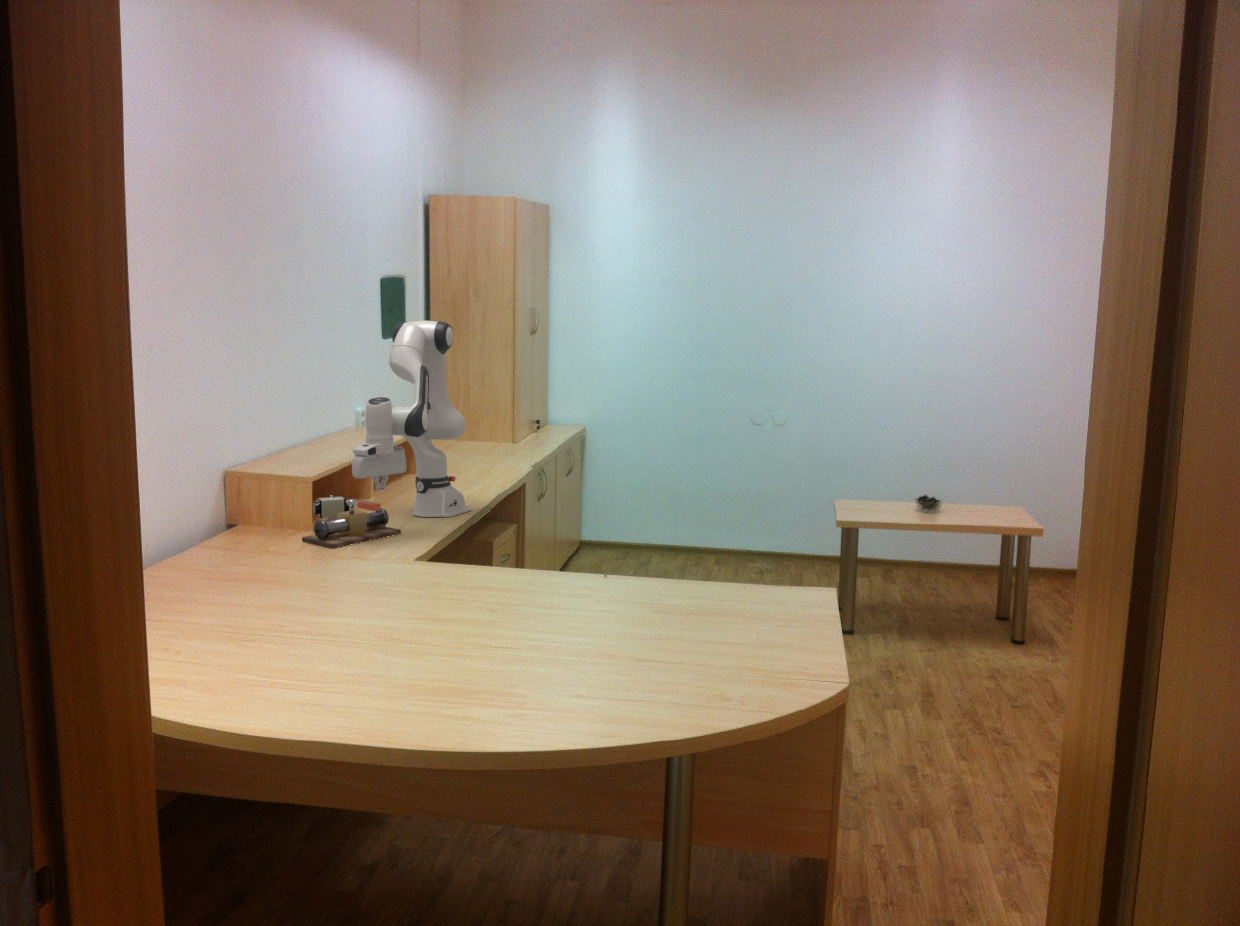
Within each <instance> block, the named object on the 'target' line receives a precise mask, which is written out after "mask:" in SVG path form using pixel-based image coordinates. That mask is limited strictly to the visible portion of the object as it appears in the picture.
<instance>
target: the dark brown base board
mask: <svg viewBox="0 0 1240 926" xmlns="http://www.w3.org/2000/svg"><path fill="white" fill-rule="evenodd" d="M397 534H399V535H402V530H401V529H399V528H396V527H395V528H394V527H390V526H386V525H385V524H377V525H373V526H368V527H367V533H365V534H360V535H355V536H345V535H341V534H338V533H334V534H328V535H327V537H326V538H322V539H319V538H318V537H317V536H316V535H315V534H311V535H306V536H302V537H301V542H302V541H303V542H302V543H306V542H307V544H309V545H310V544H311V545H315V546H318V547H324V548H328V549H332V550H336V549H339V547H340V548H344V547H343V546H345V547H347V545H349V546H351V545H350V544H354V545H356V544H355V543H358V544H361V543H360V542H363V543H366V542H365V541H367V542H370V541H369V540H372V541H375V540H374V539H376V540H380V539H379V538H381V539H384V538H383V537H385V538H388V537H387V536H390V537H393V536H392V535H395V536H398V535H397Z"/></svg>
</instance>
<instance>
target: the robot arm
mask: <svg viewBox="0 0 1240 926" xmlns="http://www.w3.org/2000/svg"><path fill="white" fill-rule="evenodd" d="M391 331H392V333H391V339H392V342H393V343H392V346H391V349H390V350H391V351H390V354H389V359H388V360H389V361H388V362H389V363H388V364H389V367H390V369H391V371H392V372H393V373H394V374H395V375H396V376H398V378H399V379H402V380H403V381H406V382H409V383H411V384H413V385H414V393H413V394H414V397H413V404H412V405H411V406H395V405H393V404H392V401H391V399H390V398H389V397H384V396H382V397H373V398H370V399H369V400H367V402H366V408H365V421H364V422H365V424H364V426H365V429H366V435H365V441H364V442H363V443H361V444H358V445H357V446H355V447H353V448H352V454H353V455H354V456H353V458H352V463H351V473H352V474H351V475H352V477H353V478H354V479H359V480H362V479H363V480H364V479H367V478H368V479H370V478H371V479H372V482H373V484H375V485H374V487H375V488H374V489H375V491H377V490H378V491H380V490H385V489H386V488H387V487H386V486H387V485H386V484H387V482H388V480H389V476H391V475H397V474H398V475H399V474H404V473H406V471H407V469H408V468H407V467H408V466H407V457H406V454H405V453H406V452H405V448H404V447H403V446H402V445H394V436H401V437H402V438H404V439H405V440H406V441H407V443H409V445H410V447H411V449H412V451H413V454H414V457H415V465H416V466H415V468H416V470H415V471H416V476H415V480H414V481H415V488H416V491H415V493H416V494H415V500H414V501H415V502H414V507H413V511H412V515H413V516H416V517H423V518H450V517H453V516H457V515H461V514H464V513H467V512H471V511H472V508H471V507H470V506H468V505H466V503H465V501H466V500H465V496H464V494H463V493H462V492H460V491H459V490H458V489H456V487H454V486H453V485H451V482H452V483H453V482H454V483H455V481H456V479H457V478H456V477H455V475H450V476H448V473H447V472H448V471H447V470H448V468H447V467H448V466H447V465H448V464H447V463H448V461H447V455H446V454H445V453H444V451H443V450H441V449H439V448H437V446H435V445H434V443H433V441H432V440H442V441H443V440H454V439H458V438H460V437H462V436H463V435H464V433H465V430H466V427H467V426H466V425H467V424H466V419H465V416H463V414H462V412H460V411H459V410H458V409H457V408H455V406H454V405H453V402H451V400H450V396H449V393H448V380H447V379H448V377H447V376H448V375H447V371H448V370H447V368H448V367H447V366H448V365H447V355H446V353H447V352H448V351H449V350H450V348H451V347H452V346H453V343H454V330H453V327H452V326H451V325H450V324H449V323H448V322H445V321H442V320H441V321H440V320H439V321H436V320H435V321H434V320H423V319H422V320H414V321H406V320H405V321H400V322H398V323H396V324H395V326H394V327H393V328H392V330H391ZM429 405H430V408H429ZM380 479H381V480H380ZM379 480H380V481H379Z"/></svg>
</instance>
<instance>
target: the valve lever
mask: <svg viewBox="0 0 1240 926" xmlns="http://www.w3.org/2000/svg"><path fill="white" fill-rule="evenodd" d="M346 500H347V505H348V506H357V508H358V509H362V510H367V511H373V512H375V511H377V510H381V508H382V507H381V505H382V504H381V503H380V502H373V501H369V500H359V501H358V500H357V499H354V498H352V499H349V498H348V499H346Z"/></svg>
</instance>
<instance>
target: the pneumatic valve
mask: <svg viewBox="0 0 1240 926" xmlns="http://www.w3.org/2000/svg"><path fill="white" fill-rule="evenodd" d="M347 500H348V499H347V498H346V497H344V496H343V495H342V496H333V495H332V494H331V495H329V497H318V498H317V497H316V501H314V502H313V503H312V510H313V511H312V512H313V515H314V516H317V517H318V518H319V519H325V520H324V521H331V520H336V519H337V513H340V512H346V511H349V506H348V505H347Z"/></svg>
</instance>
